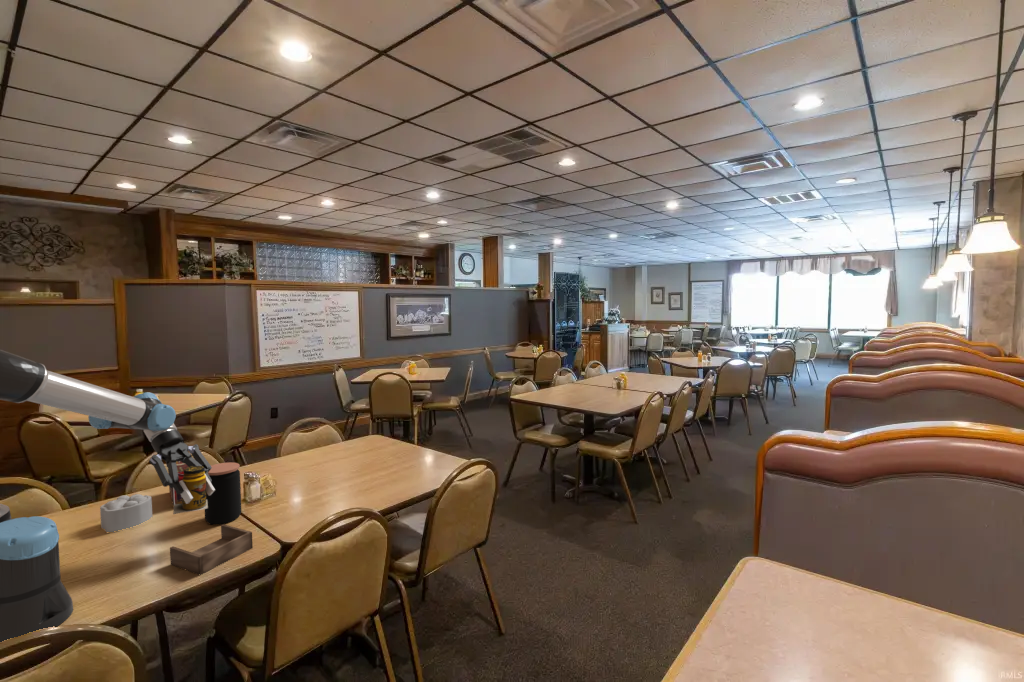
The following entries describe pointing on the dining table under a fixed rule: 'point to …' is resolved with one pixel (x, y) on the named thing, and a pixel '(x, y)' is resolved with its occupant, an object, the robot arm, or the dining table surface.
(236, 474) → the coffee jar
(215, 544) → the caddy
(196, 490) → the condiment
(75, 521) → the dining table surface
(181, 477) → the ice cream box
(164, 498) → the dining table surface
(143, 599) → the dining table surface
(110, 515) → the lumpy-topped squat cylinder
